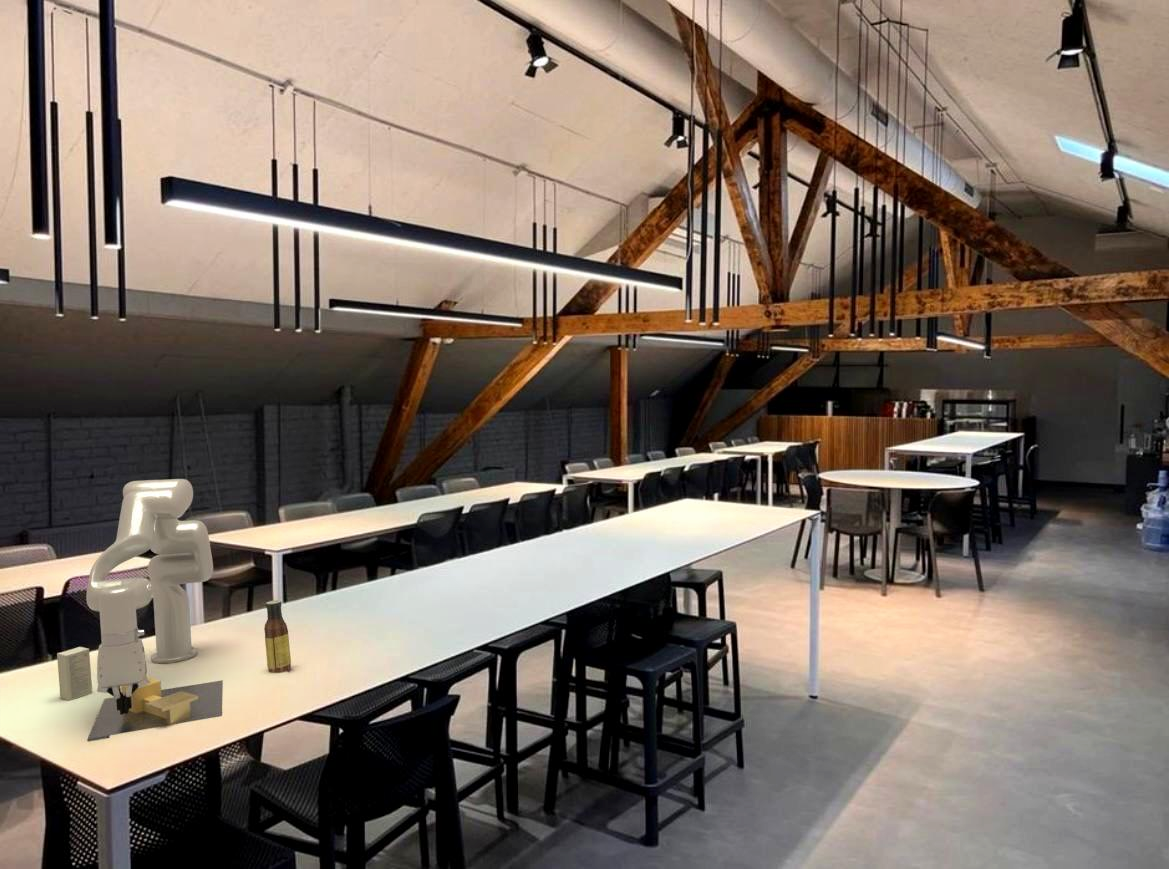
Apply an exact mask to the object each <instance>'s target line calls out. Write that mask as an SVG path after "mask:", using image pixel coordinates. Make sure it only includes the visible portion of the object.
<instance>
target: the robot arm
mask: <svg viewBox="0 0 1169 869" xmlns="http://www.w3.org/2000/svg"><path fill="white" fill-rule="evenodd" d="M122 497H123V499H122V502H121V510H120V515H119V520H118V527H117V532H116V540H115V541H114V543H113V544H111V545H110V546H109V547H107V548H106V549H105V550H104V551H103V552H102V553H101V554H100V556H98V557H97V559H96V560H95V562H94V563H93V565H92V567H91V569H90V571H89V577H88V582H87V583H88V584H87V588H86V598H85V599H86V604H87V606H88V607H89V609H90V610H91V611H95V612H99V621H100V622H99V623H100V636H101V637H100V638H101V643H100V644H99V645H98V650H97V657H96V658H97V661H96V679H97V680H96V682H97V689H96V692H97V693H104V694H107V693H108V694H109V695H111V696H112V697H114V698H115V699H116V703H117V711H118V710H120V715H122V714H128V711H129V709H131V708H132V701H131V695H132V694H133V692H134V691H135V690H136V689H137V688H139V687H142V686H145V685H147V684H148V679H147V677H148V676H147V670H148V669H147V660H146V659H147V658H146V652H145V647H144V644H143V641H142V638H140V637H141V636H145V629H139V628H138V621H137V620H138V619H137V610H140V609H142V608H144V607H146V606H148V605H149V604H150V602H151V601H153V612H154V614H153V615H154V629H155V630H154V631H155V634H154V635H155V647H156V648H155V649H156V652H155V653H153V654H152V655H151V656H150V661H151V662H153V663H157V664H168V663H169V664H170V663H177V662H182V661H186V660H189V659H191V658H194V657H195V656H196V655H198V648H197V647H193V646H192V631H191V630H192V629H191V614H190V613H191V612H190V598H189V595H188V593H187V592H186V590H185V589H184V588H183V587H182V586H181V585H183V584H184V585H185V584H198V583H203V582H207V581H209V580H210V579H211V578H212V576H213V573H214V562H213V561H214V560H213V556H212V550H211V543H210V536H209V531H208V528H207V526H206V525H205V523H204V522H203V521H201V520H194V519H193V520H179V518H181V517H182V516H183V515H184V514H185V512H186V511H187V510H188V509H189V507H190V506H191V504H192V502H193V498H194V490H193V486H192V484H191V482H190V481H189V480H188V479H186V478H185V479H184V478H173V479H172V478H171V479H148V480H133V481H130V482H128V483H126V484H125V485H124V487H123V489H122ZM149 550H151V552H153V553H154V554H156V555H155V556H152V558H151V559H150V560H149V561H148V563H147V564H148V565H147V574H148V577H149V579H148V578H144V577H132V578H130V577H129V578H117V579H116V578H115V579H114V578H113V579H107V577H108V575H109V574H110V573H111V572H112V570H114V569H115V568H117V567H119V565H121V564H124V563H125V562H127V561H129V560H132V559H133V558H136V557H138V556H140V555H142V554H144V553H147V552H148V551H149ZM122 685H127V687H126V692H125V695H123V693H122V689H121V686H122Z"/></svg>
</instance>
